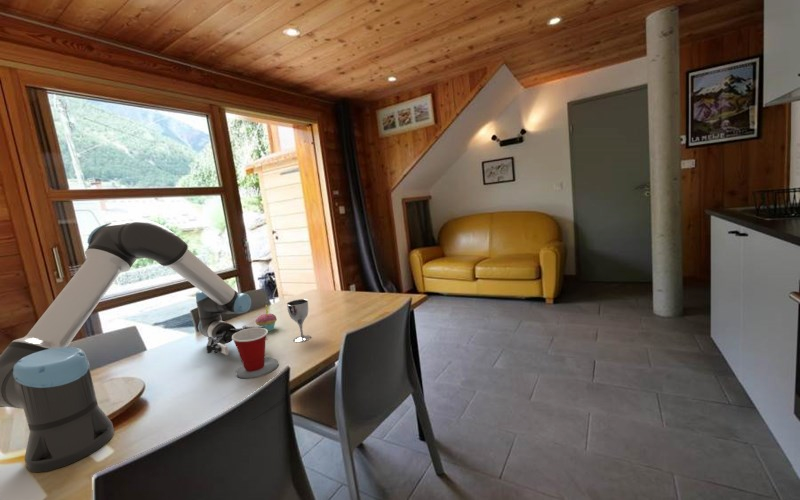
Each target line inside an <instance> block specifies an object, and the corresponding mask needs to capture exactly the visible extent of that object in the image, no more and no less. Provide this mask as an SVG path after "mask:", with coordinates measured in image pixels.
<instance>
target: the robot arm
mask: <svg viewBox="0 0 800 500" xmlns="http://www.w3.org/2000/svg"><path fill="white" fill-rule="evenodd" d="M86 243H87V248H86V250H85V251H84V254H85V257H86V259H85V260H84V263H83V264H82V265H80V267H79V269H78V270H77V271H76V272H75V274H74V275H73V276H72V277H71V278H70V280H69V281H68V282H67V284H66V285H65V286H64V288H62V290H61V291H60V292H59V294H58V295H57V296H56V298H55V299H54V300H53V301H52V302H51V304H50V305H49V306H48V307H47V309H46V310H45V312H44V313H42V315H41V316H40V318H39V319H38V320H37V321H36V323H35V324H34V325H33V327H31V329H30V330H29V331H28V333H27V334H26V335H25V336H24V337H20V338H17V339H14V340H12V341H11V342H10V343H9V344H8V346H6V348H5V349H4V350H3V351H2V353H1V354H0V408H15V409H21V410H22V409H23V412H24V416H25V420H26V423H27V427H28V430H29V434H28V438H27V443H26V451H25V453H24V462H25V466H26V469H27V470H28V471H29V472H31V473H32V472H33V473H43V472H49V471H53V470H56V469H60V468H63V467H65V466H68V465H71V464H73V463H75V462H77V461H80V460H82V459H83V458H86V457H88V456H89V455H91V454H93V453H94V452H96V451H98V450H99V449H101V448H102V447H103V446H104V445H106V444H107V443H108V442H109V441H110V440H111V439H112V437H113V436H114V433H115V429H114V425H113V422H112V420H110V418H109V417H108V416H107V415H106V413H105V412H104V411H103V410H102V408H101V407H100V406H99V404H98V399H97V396H96V395H97V394H96V391H95V386H94V381H93V378H92V373H91V370H90V369H91V368H90V362H89V359H88V358H87V355H86V353H85V351H84V350H83V349H81V348H78V347H75V346H69V345H70V343H71V342H72V341H73V340H74V338H75V337H76V335H77V334H78V333H79V331H80V330H81V328H82V327H83V325H84V324H85V323H86V321H87V320H88V318H89V317H90V316H91V314H92V313H93V312H94V309H96V307H97V306H98V304H99V303H100V301H101V300H102V299H103V297H104V295H106V293H107V292H108V290H109V289H110V288H111V286H112V284H113V283H114V282H115V280H116V279H117V278H118V276H119V274H121V273H125V272H128V271H129V270H130V269H131V268H132V267H133V264H135V263H136V261H137V260H138V259H148V260H152V261H154V262H156V263H158V264H160V266H162V267H169V268H171V270H172V271H174V272H175V273H177V275H179V276H180V277H182V278H183V279H185V281H187V282H188V283H190V284H191V285H192V286H194V287H195V288H197V289H198V291H196V293H195V301H196V307H197V310H198V316H199V322H198V326H197V329H198V331H199V333H200V334H201V335H203V336H204V337H207V343H206V346H205V347H206V353H207V354H210V353H212V352H213V353H214V354H218V353H222V354H223V355H225V356H228V355H229V354H230V353H229V348H228V346H227V345H226V344H228V343H231V342H232V341H234V340H233V339H232V335H233V334H235V333H236V332H238V331H241V330H244V329H249V328H264V326H259V325H256V326H255V325H249V326H248V325H243V326H242V328H236V327H235V326H234V325H233V324H231V323H228V322H226V321H223V320H222V314H237V315H238V314H244V313H247V312H248V311H249V310H250V309H251V306H252V298H251V296H250V295H249V294H248V293H243V292H240V293H239V292H237V291H236V290H235V289H234V288H233V287H232V286H230V284H228V283H227V282H226V281H225V280H223V278H222V277H220V276H219V274H217V273H216V272H214V271H213V270H212V269H211V268H210V267H209V266H207V264H206V263H204V262H203V261H202V260H201V259H200V258H199V257H197V256H196V255H195V254H194V253H193V252H192V251H190V249H189V245H188V243H187V242H186V241H184V240H183V239H182V238H181V237H179V235H177V234H176V233H174V232H173V231H171V230H170V229H169V228H167V227H166V226H163V225H161V224H159V223H158V222H155V221H152V220H147V219H136V220H128V221H113V222H109V223H105V224H101V225H99V226H97V227H96V228H94V229H93V230H92V231H91V232H90V234H89V236H88V237H87V242H86ZM267 340H268V334H267V335H266V341H267Z"/></svg>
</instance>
